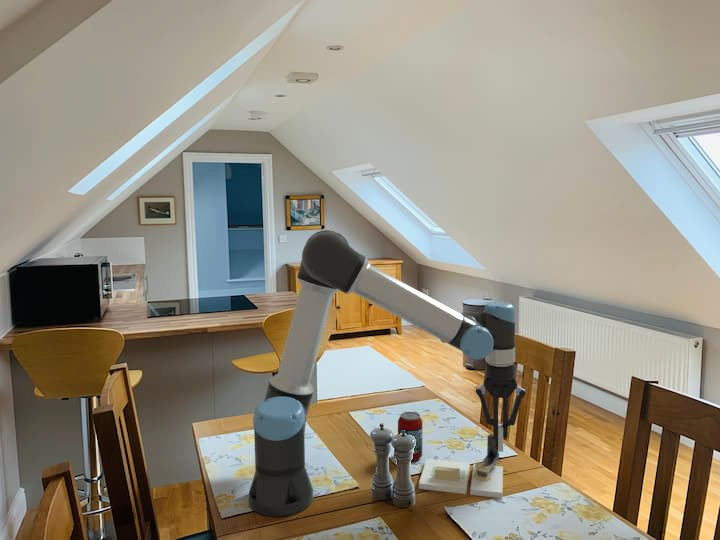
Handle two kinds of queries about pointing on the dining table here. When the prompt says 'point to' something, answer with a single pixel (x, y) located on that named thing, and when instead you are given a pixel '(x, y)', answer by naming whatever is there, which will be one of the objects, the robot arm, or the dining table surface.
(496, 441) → the latch bar
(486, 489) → the block
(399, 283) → the robot arm
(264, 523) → the dining table surface
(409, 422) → the beverage can
